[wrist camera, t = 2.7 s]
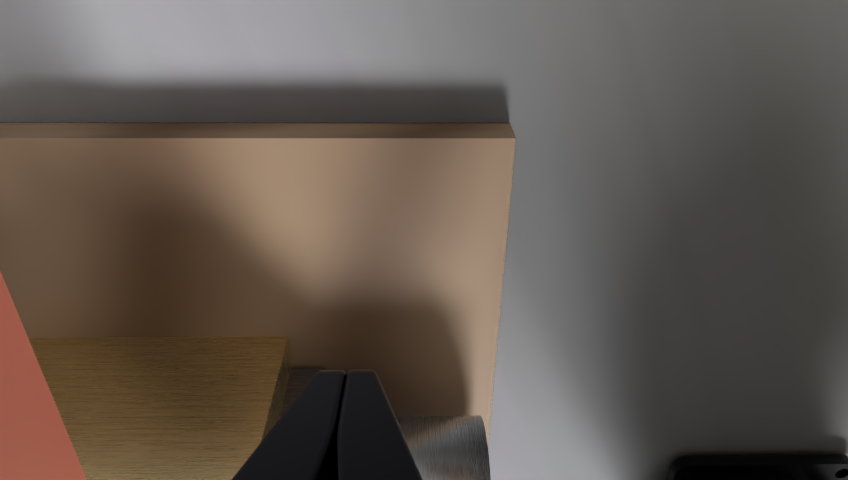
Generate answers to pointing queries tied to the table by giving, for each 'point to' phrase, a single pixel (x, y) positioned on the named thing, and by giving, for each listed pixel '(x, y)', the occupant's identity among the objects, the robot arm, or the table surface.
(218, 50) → the table surface
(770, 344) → the table surface
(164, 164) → the board
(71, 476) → the lever
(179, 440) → the valve
